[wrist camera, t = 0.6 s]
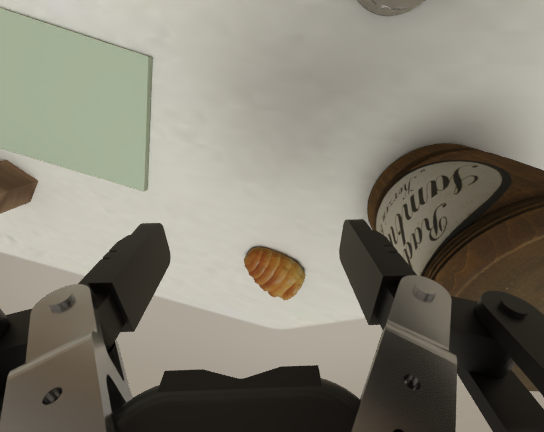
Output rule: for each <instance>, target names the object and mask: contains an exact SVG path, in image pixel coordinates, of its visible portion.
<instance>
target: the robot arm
mask: <svg viewBox="0 0 544 432" xmlns="http://www.w3.org/2000/svg"><path fill="white" fill-rule="evenodd" d="M358 1H359V2H360V3H361V4H362V5H363V6H364V7H365V8H366V9H368V10H370V11H371V12H373V13H375V14H380V15H385V16H389V15H398V14H401V13H404V12H408V11H410V10H411V9H413V8H415V7H417V6H418V5H420V4H421V3H423V2H424V1H425V0H358ZM339 253H340V260H341V263H342V265H343V268H344V270H345V272H346V275H347V277H348V279H349V281H350V284H351V286H352V288H353V290H354V293H355V295H356V297H357V300H358V302H359V304H360V306H361V309H362V311H363V313H364V315H365V318H366V320H367V322H368V325H381V327H382V329H383V332H382V335H381V338H380V341H379V344H378V347H377V350H376V353H375V356H374V359H373V362H372V365H371V368H370V371H369V374H368V377H367V380H366V383H365V386H364V389H363V392H362V395H361V398H360V399H359V398H357V397H356V396H355V395H354V394H352V393H351V392H349V391H348V390H347V389H345V388H343V387H341V386H340V385H338V384H336V383H333V382H331V381H328V380H325V379H322V378H320V373H319V368H318V366H317V365H316V366H291V367H290V366H289V367H279V368H275V369H272V370H269V371H266V372H263V373H260V374H257V375H254V376H250V377H248V378H244V379H237V378H233V377H230V376H226V375H222V374H218V373H214V372H210V371H207V370H178V371H165V372H164V375H163V378H162V380H161V383H160V385H159V386H155V387H153V388H151V389H149V390H146V391H144V392H143V393H141V394H139V395H137V396H135V397H134V398H133V397H132V394H131V391H130V388H129V385H128V381H127V377H126V373H125V369H124V365H123V361H122V357H121V353H120V349H119V345H118V342H117V341H116V338H117V337H118V335H119V333H120V332H134V331H135V329H136V327H137V325H138V323H139V321H140V319H141V318H142V316H143V314H144V312H145V310H146V308H147V306H148V304H149V302H150V301H151V299H152V297H153V295H154V293H155V291H156V289H157V287H158V285H159V283H160V282H161V280H162V278H163V276H164V274H165V272H166V270H167V268H168V266H169V264H170V250H169V246H168V243H167V239H166V235H165V231H164V228H163V226H162V224H160V223H143V224H140V225H139V226H138V227H137V229H136V230H135V231H134V232H133V233H132V234H131V235H128V236H126V237H125V238H123V239H122V240H120V241H118V242H117V243H116V244H115V245H114V246H113V247H112V248H111V249H110V250H109V252H108V253H107V254H106V255H105V256H104V257H103V259H101V260H100V261H99V262H98V263H97V264H96V265H95V266H94V267H93V269H92V270H91V271H90V272H89V273H88V274H87V275H86V276H85V277H84V278H83V279H82V280H81V281H80V283H78V284H74V285H69V286H65V287H62V288H60V289H57V290H55V291H53V292H51V293H50V294H48V295H46V296H45V297H44V298H42V299H41V300H40V301H39V302H38V303H37V304H36V305H35V306H34V307H33V309H29V310H25V311H21V312H17V313H13V314H9V315H5V314H4V313H3V311H2V310H1V309H0V432H455V427H456V385H457V374H458V376H459V377H460V379H461V380H462V382H463V384H464V385H465V387H466V389H467V390H468V392H469V393H470V395H471V396H472V398H473V400H474V402H475V403H476V405H477V406H478V408H479V410H480V411H481V413H482V415H483V416H484V418H485V419H486V421H487V423H488V424H489V426H490V428H491V429H492V431H493V432H544V409H543V408H542V407H541V406H540V404H539V403H538V402H537V401H536V399H535V398H534V397H533V396H532V394H531V393H530V392H529V391H528V390H527V388H526V387H525V386H524V385H523V383H522V382H521V381H520V380H519V379H518V377H517V376H516V375H515V374H514V372H513V371H512V370H511V369H512V368H513V367H514V366H515V364H517V365H518V367H519V368H520V369H521V370H522V371H523V373H524V374H525V375H526V376H527V377H528V378H529V380H530V381H531V382H532V383H533V384H534V386H535V387H536V388H537V389H538V390H539V391H540V393H541V394H542V395H543V397H544V315H543V314H542V313H541V312H540V311H539V310H538V309H536V308H535V307H534V306H532V305H531V304H529V303H528V302H526V301H524V300H522V299H520V298H518V297H516V296H514V295H511V294H508V293H505V292H500V291H486V292H484V293H483V294H482V296H481V297H480V299H479V301H478V302H477V301H473V300H468V299H463V298H458V297H453V296H450V294H449V293H448V292H447V290H446V289H445V288H444V287H442V286H441V285H440V284H438V283H437V282H435V281H433V280H431V279H429V278H426V277H422V276H418V275H417V274H416V273H415V272H414V270H413V269H412V268H411V267H410V266H409V264H408V263H407V262H406V261H405V259H404V258H403V257H402V256H401V254H400V253H398V251H397V250H396V248H395V247H394V246H392V243H391V242H390V241H389V240H388V238H387V237H386V236H384V235H383V234H381V233H379V232H378V231H376V230H371V228H370V227H369V226H368V224H367V223H366V222H365V220H363V219H358V220H345V222H344V225H343V231H342V237H341V243H340V250H339Z"/></svg>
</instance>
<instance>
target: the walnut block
mask: <svg viewBox="0 0 544 432" xmlns="http://www.w3.org/2000/svg"><path fill="white" fill-rule="evenodd" d="M37 182H38V181H37V180H36V179H34V178H33V177H31V176H30V175H28V174H27V173H25V172H24V171H22V170H21V169H19V168H18V167H16V166H15V165H13V164H12V163H10V162H9V161H7V160H4V161H0V214H1V213H3V212H6V211H8V210H11V209H13V208H16V207H18V206H21V205H23V204H26V203H28V202H30V201H31V199H32V196H33V193H34V191H35V188H36V185H37Z"/></svg>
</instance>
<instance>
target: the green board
mask: <svg viewBox="0 0 544 432" xmlns="http://www.w3.org/2000/svg"><path fill="white" fill-rule="evenodd" d="M151 83H152V57H149V56H146V55H143V54H140V53H137V52H133V51H130V50H127V49H124V48H121V47H118V46H115V45H112V44H109V43H106V42H103V41H100V40H97V39H94V38H91V37H88V36H85V35H82V34H79V33H76V32H72V31H69V30H66V29H63V28H60V27H57V26H54V25H51V24H48V23H45V22H42V21H39V20H36V19H33V18H30V17H27V16H24V15H21V14H18V13H15V12H11V11H8V10H5V9H2V8H0V148H1V149H4V150H7V151H11V152H14V153H17V154H21V155H24V156H27V157H31V158H34V159H37V160H41V161H44V162H47V163H51V164H54V165H57V166H61V167H64V168H67V169H71V170H74V171H77V172H81V173H84V174H87V175H91V176H94V177H97V178H101V179H104V180H107V181H111V182H114V183H117V184H121V185H124V186H127V187H130V188H134V189H137V190H140V191H146V190H147V187H148V161H149V135H150V109H151Z"/></svg>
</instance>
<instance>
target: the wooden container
mask: <svg viewBox="0 0 544 432" xmlns="http://www.w3.org/2000/svg"><path fill="white" fill-rule="evenodd" d="M368 218H369V222H370V225H371V227H372V230H376V231H378V232H379V233H381V234H383V235H384V236H386V237H387V238H388V240H389V241H390V242H391V243H392V246H394V247H395V248H396V250H397V251H398V253H400V254H401V256H402V257H403V258H404V259H405V261H406V262H407V263H408V264H409V266H410V267H411V268H412V269H413V270H414V272H415V273H416V274H417V275H418V276H422V277H426V278H429V279H431V280H433V281H435V282H437V283H438V284H440V285H441V286H442V287H444V288H445V289H446V290H447V292H448V293H449V294H450V296H453V297H458V298H463V299H468V300H473V301H477V302H478V301H479V299H480V297H481V296H482V294H483V293H484V292H486V291H500V292H505V293H508V294H511V295H514V296H516V297H518V298H520V299H522V300H524V301H526V302H528V303H529V304H531V305H532V306H534V307H535V308H536V309H538V310H539V311H540V312H541V313H542V314H543V315H544V171H543V170H541V169H538V168H535V167H532V166H529V165H526V164H523V163H520V162H518V161H515V160H512V159H508V158H505V157H502V156H499V155H496V154H492V153H488V152H484V151H481V150H478V149H474V148H471V147H467V146H463V145H459V144H447V143H446V144H434V145H429V146H425V147H422V148H419V149H416V150H414V151H412V152H410V153H408V154H406V155H404V156H403V157H401V158H399V159H398V160H396V161H395V162H394V163H393V164H391V165H390V166H389V167H388V168H387V169H386V170H385V171H384V173H383V174H382V175H381V176H380V177H379V179H378V180H377V182H376V184H375V185H374V187H373V189H372V192H371V194H370V197H369V201H368ZM511 370H512V371H513V372H514V374H515V375H516V376H517V377H518V379H519V380H520V381H521V382H522V383H523V385H524V386H525V387H526V388H527V390H528V391H539V390H538V389H537V388H536V387H535V386H534V384H533V383H532V382H531V381H530V380H529V378H528V377H527V376H526V375H525V374H524V373H523V371H522V370H521V369H520V368H519V367H518V365H517V364H515V366H514V367H513V368H512V369H511Z"/></svg>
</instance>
